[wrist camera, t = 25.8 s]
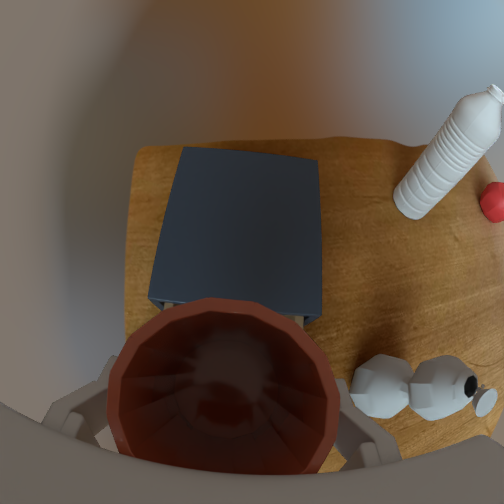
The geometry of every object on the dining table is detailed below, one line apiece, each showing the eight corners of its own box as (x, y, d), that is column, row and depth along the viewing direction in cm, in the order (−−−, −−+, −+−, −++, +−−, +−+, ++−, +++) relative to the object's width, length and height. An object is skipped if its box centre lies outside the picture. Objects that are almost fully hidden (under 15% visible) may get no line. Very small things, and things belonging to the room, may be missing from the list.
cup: (166, 432, 13) (105, 488, 5) (176, 328, 16) (122, 285, 8) (278, 444, 14) (326, 511, 5) (286, 339, 16) (344, 307, 8)
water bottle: (386, 186, 41) (468, 64, 18) (415, 185, 42) (496, 78, 19) (406, 235, 38) (516, 121, 15) (435, 231, 39) (538, 132, 16)
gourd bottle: (366, 342, 32) (489, 303, 13) (406, 376, 30) (532, 361, 12) (328, 394, 29) (442, 412, 11) (372, 427, 28) (494, 456, 9)
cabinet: (296, 330, 32) (322, 315, 23) (169, 318, 32) (146, 298, 23) (299, 205, 39) (317, 160, 30) (191, 194, 38) (183, 146, 29)
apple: (472, 188, 44) (494, 166, 37) (495, 201, 44) (516, 182, 37) (478, 221, 41) (504, 199, 34) (501, 233, 41) (526, 215, 34)
